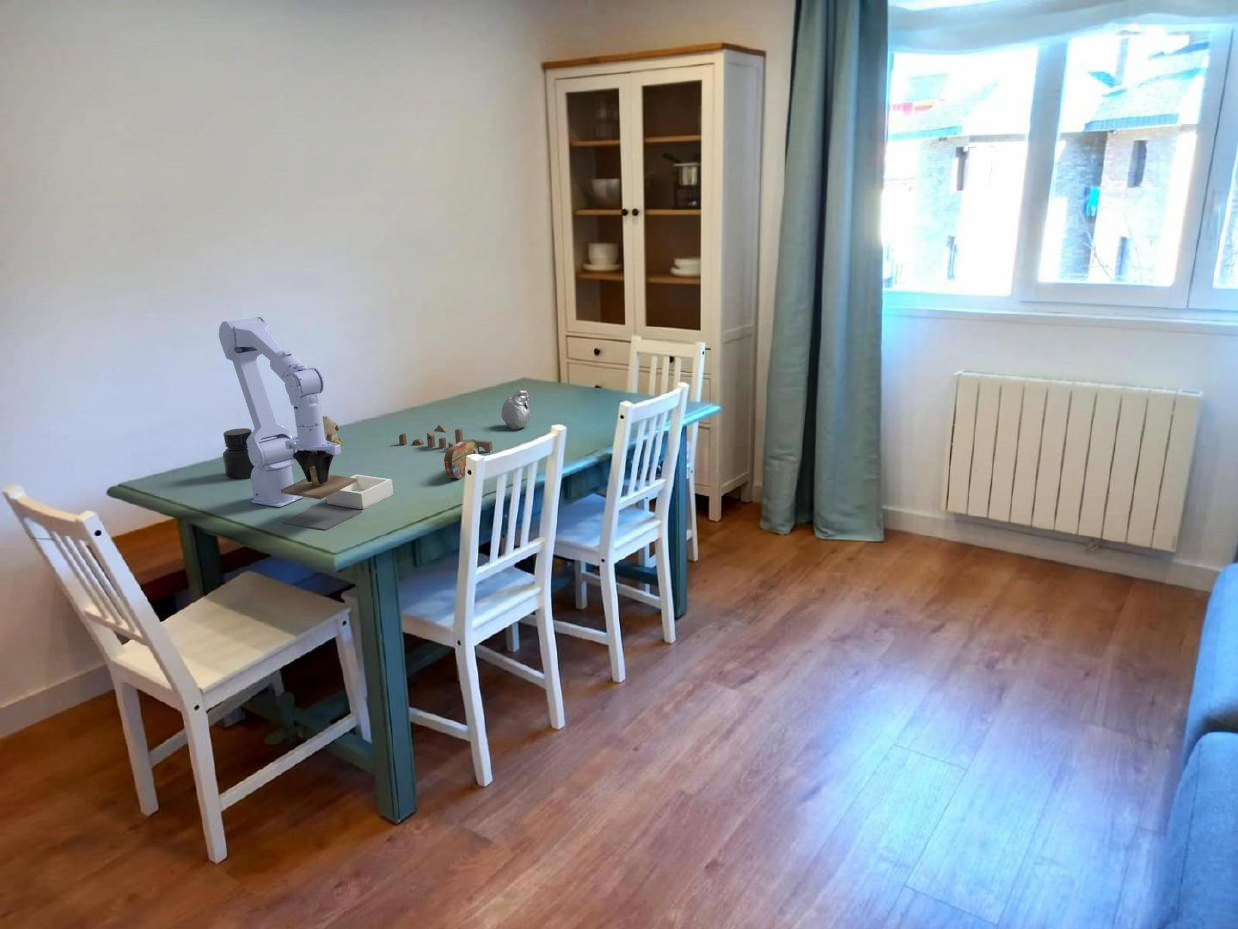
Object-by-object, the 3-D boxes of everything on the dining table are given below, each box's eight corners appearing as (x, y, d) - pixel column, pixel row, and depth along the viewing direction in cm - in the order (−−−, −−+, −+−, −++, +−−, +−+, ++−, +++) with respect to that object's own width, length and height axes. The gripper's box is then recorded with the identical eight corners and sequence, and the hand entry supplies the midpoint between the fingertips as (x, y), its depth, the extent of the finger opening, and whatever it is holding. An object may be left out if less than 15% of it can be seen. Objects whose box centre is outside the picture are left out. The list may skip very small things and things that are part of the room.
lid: (281, 495, 194) (277, 473, 193) (318, 478, 204) (315, 456, 202) (320, 502, 190) (317, 479, 188) (356, 484, 199) (353, 462, 198)
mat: (281, 522, 196) (281, 521, 196) (319, 505, 206) (319, 504, 206) (325, 530, 191) (325, 529, 191) (362, 512, 201) (362, 511, 201)
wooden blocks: (495, 452, 248) (493, 427, 245) (490, 455, 245) (488, 429, 243) (405, 442, 257) (402, 418, 255) (399, 445, 255) (397, 421, 252)
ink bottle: (270, 470, 234) (264, 428, 230) (249, 481, 225) (241, 437, 222) (240, 468, 236) (233, 426, 232) (217, 478, 228) (210, 435, 224)
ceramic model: (349, 441, 261) (345, 408, 258) (336, 452, 250) (332, 418, 247) (303, 441, 261) (299, 409, 258) (288, 452, 250) (283, 419, 247)
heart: (498, 423, 275) (496, 388, 269) (527, 419, 277) (526, 385, 272) (504, 436, 266) (502, 400, 261) (534, 433, 269) (533, 397, 263)
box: (327, 503, 207) (325, 488, 206) (358, 489, 217) (356, 474, 216) (363, 509, 203) (361, 493, 202) (393, 494, 212) (391, 479, 211)
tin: (454, 483, 220) (451, 451, 218) (443, 482, 221) (440, 450, 219) (481, 465, 234) (479, 435, 231) (471, 464, 235) (469, 434, 232)
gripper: (271, 425, 191) (280, 483, 196) (321, 431, 186) (329, 490, 190) (295, 417, 197) (303, 474, 202) (344, 423, 192) (351, 481, 196)
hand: (317, 481), depth 196 cm, fingers closed on lid, 3 cm apart
